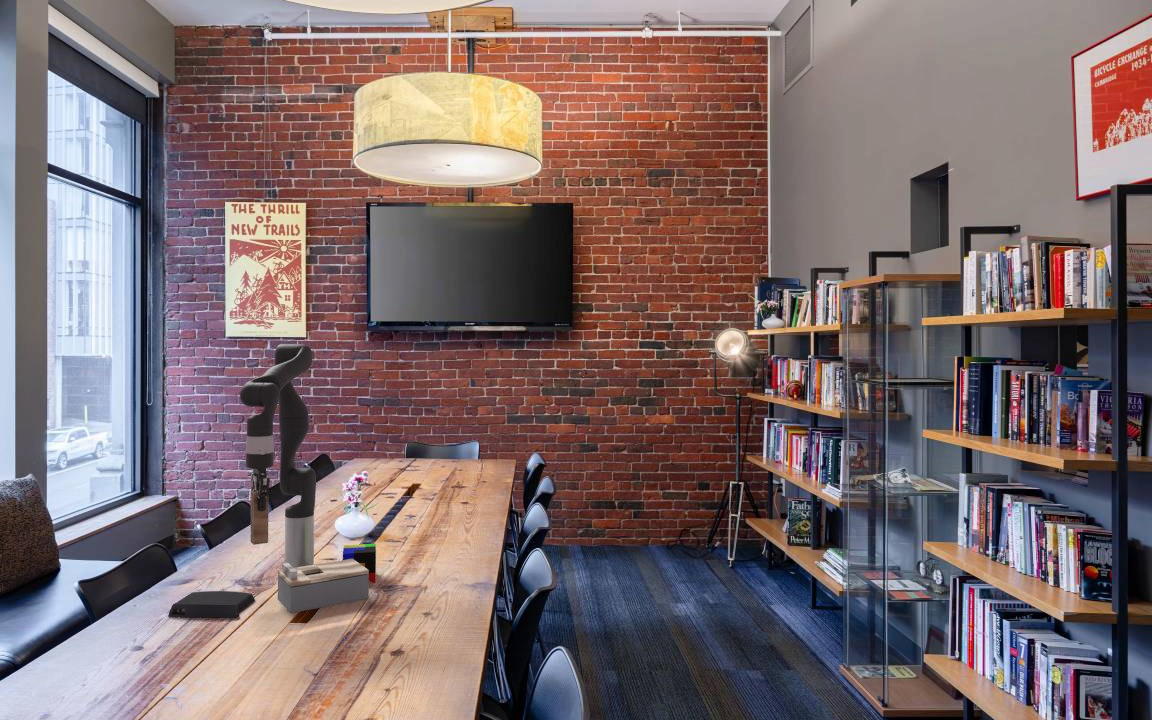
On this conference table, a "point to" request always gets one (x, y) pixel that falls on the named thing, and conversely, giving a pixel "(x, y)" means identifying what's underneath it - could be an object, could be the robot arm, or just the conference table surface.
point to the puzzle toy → (363, 557)
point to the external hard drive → (211, 605)
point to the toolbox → (322, 592)
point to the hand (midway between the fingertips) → (259, 509)
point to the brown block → (258, 521)
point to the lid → (321, 572)
